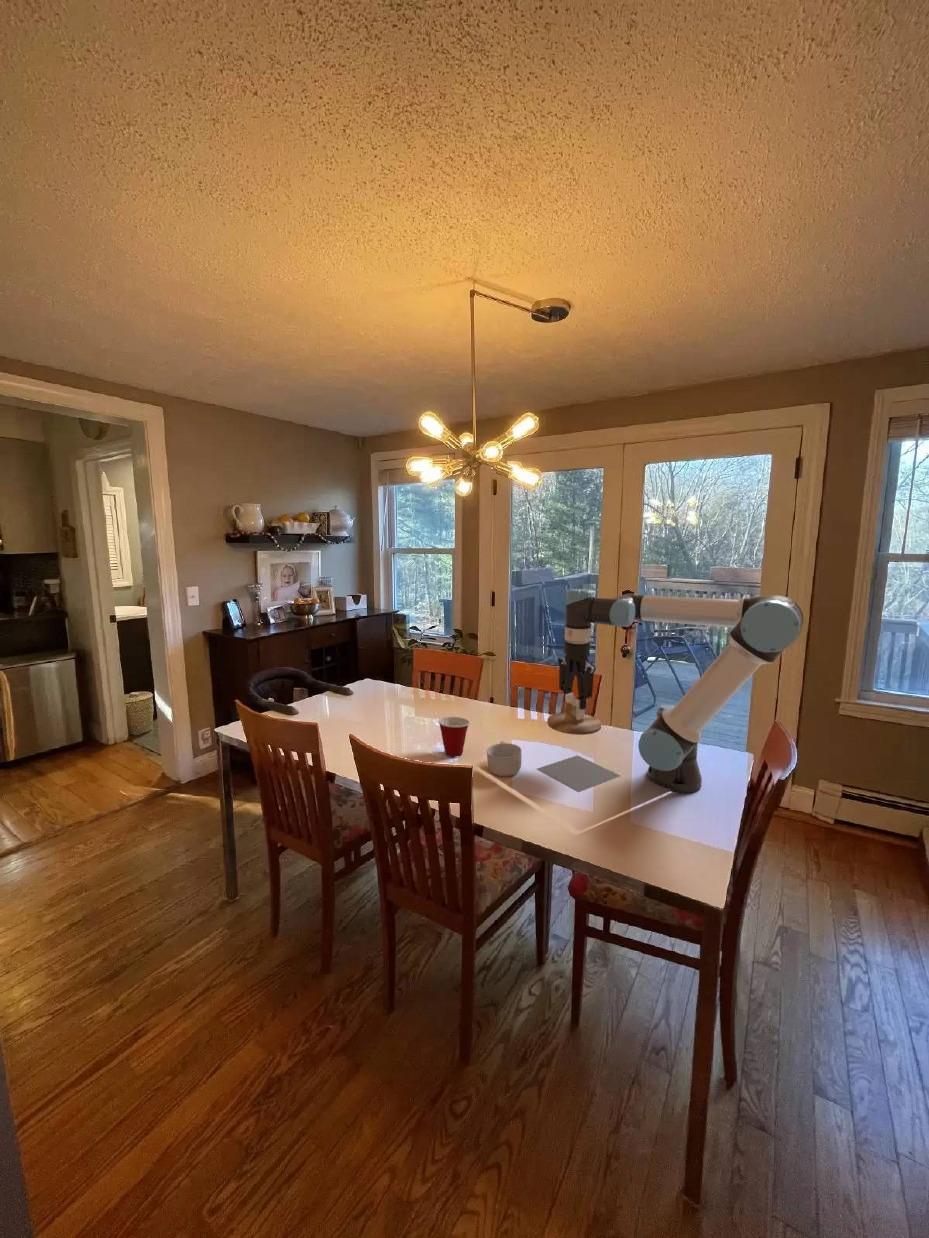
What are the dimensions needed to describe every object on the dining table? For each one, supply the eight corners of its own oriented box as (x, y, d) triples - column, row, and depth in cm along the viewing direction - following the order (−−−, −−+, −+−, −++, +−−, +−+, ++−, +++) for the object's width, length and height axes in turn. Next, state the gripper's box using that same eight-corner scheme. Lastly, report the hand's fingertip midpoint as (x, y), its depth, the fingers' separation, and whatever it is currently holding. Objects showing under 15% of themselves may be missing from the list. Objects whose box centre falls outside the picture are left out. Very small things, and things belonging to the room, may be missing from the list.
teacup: (519, 782, 155) (519, 757, 154) (483, 779, 157) (483, 754, 156) (523, 763, 168) (524, 739, 167) (490, 760, 170) (490, 737, 169)
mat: (620, 778, 157) (620, 775, 157) (578, 795, 147) (578, 791, 147) (577, 758, 172) (577, 755, 172) (536, 771, 162) (536, 768, 162)
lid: (612, 727, 155) (613, 705, 154) (573, 738, 146) (574, 715, 145) (574, 712, 168) (574, 691, 167) (536, 721, 160) (537, 699, 159)
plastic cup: (476, 753, 176) (476, 719, 174) (454, 763, 168) (454, 728, 166) (454, 744, 183) (453, 712, 181) (431, 754, 176) (431, 720, 174)
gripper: (548, 637, 158) (545, 710, 162) (589, 648, 144) (586, 727, 148) (566, 635, 162) (563, 706, 166) (608, 645, 148) (604, 722, 152)
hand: (574, 716), depth 157 cm, fingers closed on lid, 4 cm apart
